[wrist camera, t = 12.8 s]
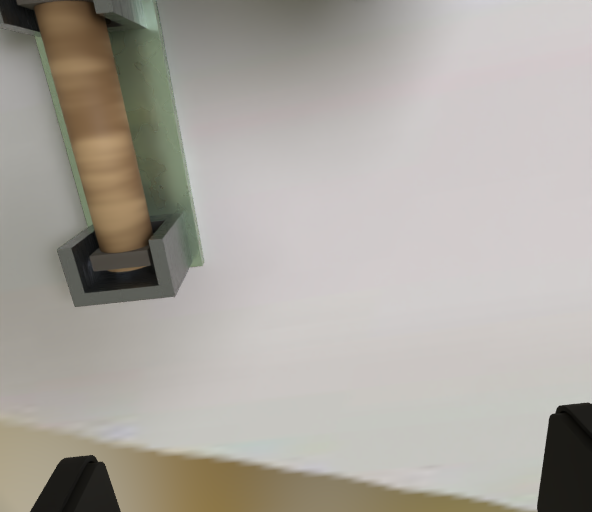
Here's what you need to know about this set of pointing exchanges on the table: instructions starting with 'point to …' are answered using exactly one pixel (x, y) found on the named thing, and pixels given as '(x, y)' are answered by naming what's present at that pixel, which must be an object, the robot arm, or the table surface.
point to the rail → (97, 130)
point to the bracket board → (149, 153)
